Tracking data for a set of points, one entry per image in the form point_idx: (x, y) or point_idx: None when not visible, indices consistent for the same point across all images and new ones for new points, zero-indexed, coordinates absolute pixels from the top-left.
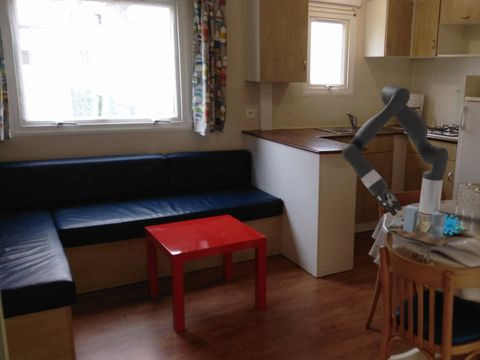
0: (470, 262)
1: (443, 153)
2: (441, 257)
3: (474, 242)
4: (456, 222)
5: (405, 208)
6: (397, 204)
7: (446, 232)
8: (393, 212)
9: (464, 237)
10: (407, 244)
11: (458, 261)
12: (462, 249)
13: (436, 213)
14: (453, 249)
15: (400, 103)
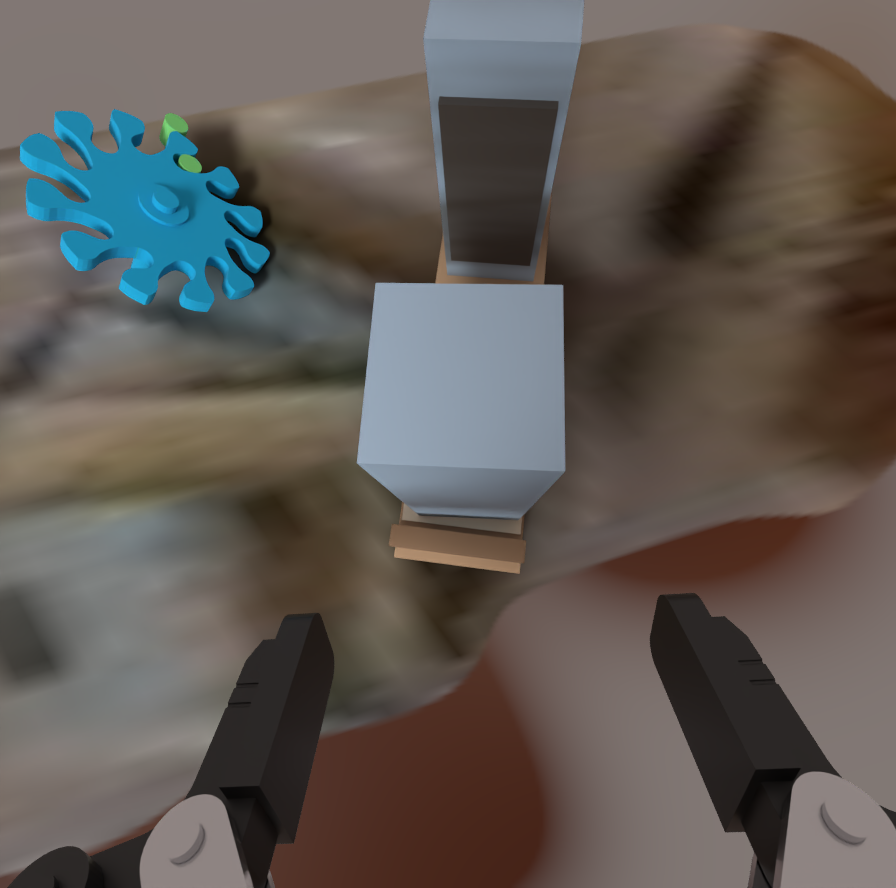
0: (694, 44)
1: None
2: (756, 173)
3: (311, 97)
4: (128, 141)
5: (558, 471)
6: (288, 737)
7: (254, 243)
8: (748, 658)
9: (245, 158)
10: (693, 423)
11: (736, 90)
12: None
13: (524, 6)
14: None
15: None
